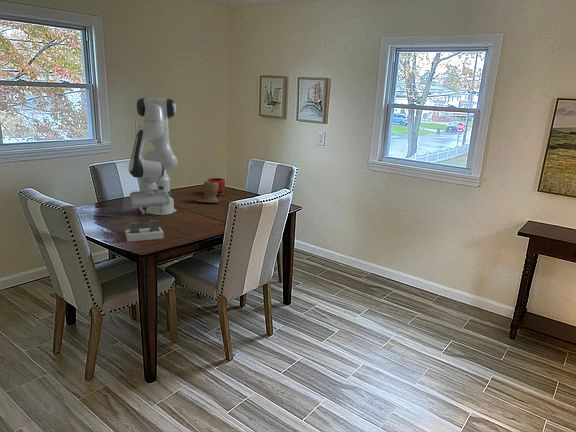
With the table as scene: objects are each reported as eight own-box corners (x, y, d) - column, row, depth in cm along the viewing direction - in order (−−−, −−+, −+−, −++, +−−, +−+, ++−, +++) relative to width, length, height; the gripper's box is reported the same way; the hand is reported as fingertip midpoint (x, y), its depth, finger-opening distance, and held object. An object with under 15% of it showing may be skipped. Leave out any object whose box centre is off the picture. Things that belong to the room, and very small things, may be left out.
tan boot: (220, 200, 313) (220, 180, 309) (217, 204, 302) (218, 183, 297) (199, 199, 312) (199, 179, 308) (196, 203, 301) (196, 182, 297)
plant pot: (228, 194, 332) (228, 179, 329) (216, 197, 322) (217, 181, 318) (215, 191, 339) (215, 176, 336) (203, 194, 328) (203, 178, 325)
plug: (150, 236, 231) (149, 219, 228) (157, 235, 232) (157, 219, 230) (151, 237, 228) (150, 221, 226) (158, 237, 230) (158, 221, 227)
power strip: (123, 230, 237) (122, 215, 234) (157, 227, 245) (157, 213, 242) (127, 241, 220) (127, 225, 218) (163, 238, 228) (163, 223, 226)
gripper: (129, 189, 231) (132, 211, 226) (168, 186, 240) (172, 208, 235) (128, 195, 237) (132, 217, 231) (167, 192, 245) (171, 213, 240)
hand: (152, 212), depth 233 cm, fingers open, 8 cm apart
